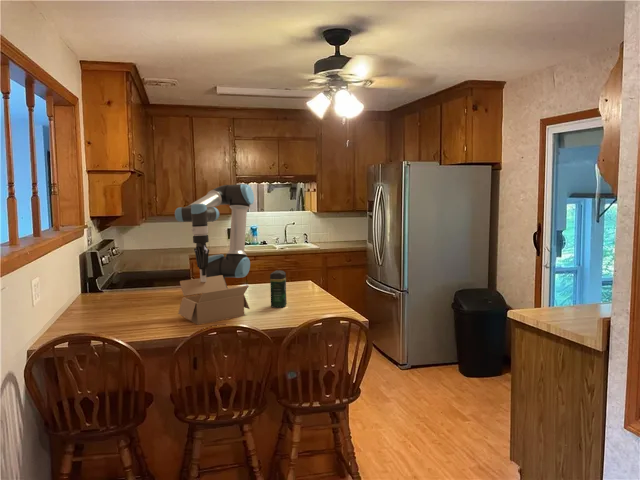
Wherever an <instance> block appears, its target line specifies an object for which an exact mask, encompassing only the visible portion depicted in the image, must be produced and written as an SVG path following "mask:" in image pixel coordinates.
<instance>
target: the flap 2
mask: <svg viewBox="0 0 640 480" xmlns="http://www.w3.org/2000/svg"><path fill="white" fill-rule="evenodd" d="M248 288H249V285H248V284H246V285H239V286H233V287H227V288H226V289H220V290H214V291H207V292H203V293H201V295H202V296H201V298H200V300H199V303H201V302H207V301H213V300H219V299H225V298H231V297H237V296H242V295H244V296H245V293H246V292H247V290H248Z"/></svg>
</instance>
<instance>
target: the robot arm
mask: <svg viewBox="0 0 640 480" xmlns="http://www.w3.org/2000/svg"><path fill="white" fill-rule="evenodd" d="M254 201H255V194H254V191H253V189H252V186H250V185H249V184H243V183H241V184H223V185H220V186H217V187H215V188H213V189H211V190H209V191H208V192H207V193H206V195H204V196H202V197H200V198H198V199H197V200H195V201H193V202H192V203H190V204H189V205H187V206H185V207H184V206H183V207H182V206H181V207H177V208H176V209H175V210H174V217H175V220H176V221H177V222H179V223H181V222H182V223H184V222H185V223H192V225H191V231H192V241H193V242H192V243H193V244H195V248H193V251H194V255H195V260H196V265H197V268H198V269H199V278H200V281H201V282H207V280H206V277H212V276H220V275H223V278H224V281H225V284H226V287H227V288H228V286H227V283H226V278H236V279H240V278H245V277H246V276H248V274H249V272H250V269H251V261H250V257H248V256H247V255H248V254H247V253H246V252H245V247H246V230H247V216H248V215H247V212H248V210H249V209H250V207H251V205H253V204H254ZM223 205H224V206H225V205H227V206H229V208H230V209H231V218H230V219H231V221H230V232H229V233H230V236H229V248H228V252H226V256H225V255H224V254H222V253H221V254H213V255H210V249H209V248H207V243H209V235H208V234H209V226H208V225H209V224H208V223H209V222H215V221H218V219H219V218H220V211H219V209H218V208H217V207H219V206H223Z"/></svg>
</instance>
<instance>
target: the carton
mask: <svg viewBox="0 0 640 480" xmlns="http://www.w3.org/2000/svg"><path fill="white" fill-rule="evenodd" d="M201 296H202V294H196V295H189V296H183V297H182V299H181V301H180V306H179V309H178V313H177V314H178V315H180V316H182V317H184V318H185V320H188V321H190V322H192V323H194V324H196V325H198V326H199V325H203V324H208V323H214V322H218V321H224V320H228V319H235V318H238V317H244V316H245V309H248V310H250V306H249V304H248V300H247V298H246V295H245V294H244V295H242V296H237V297H231V298H225V299H219V300H213V301H207V302H201V303H199V300H200V298H201Z"/></svg>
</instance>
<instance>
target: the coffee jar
mask: <svg viewBox="0 0 640 480" xmlns="http://www.w3.org/2000/svg"><path fill="white" fill-rule="evenodd" d="M286 273H287V272H286V271H284V270H280V269H278V270H274V271H273V272H271V273H270V275H269V281H270V283H269V285H270V306H271V308H277V309H279V308H284V307H286V305H287V304H288V303H287V302H288V301H287V276H286V275H287V274H286Z"/></svg>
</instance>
